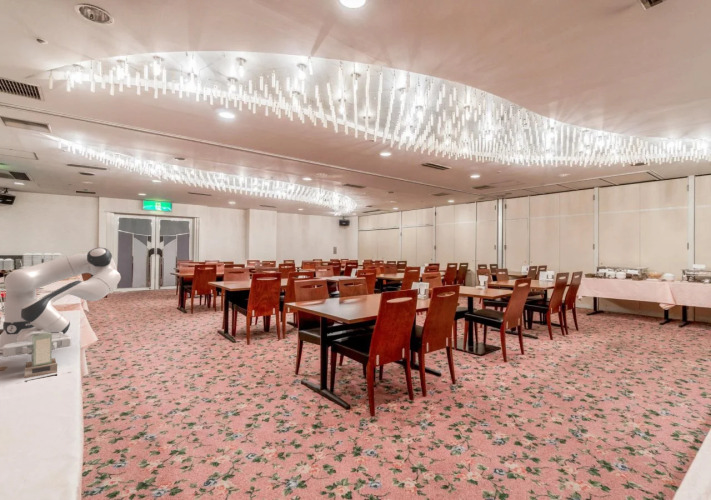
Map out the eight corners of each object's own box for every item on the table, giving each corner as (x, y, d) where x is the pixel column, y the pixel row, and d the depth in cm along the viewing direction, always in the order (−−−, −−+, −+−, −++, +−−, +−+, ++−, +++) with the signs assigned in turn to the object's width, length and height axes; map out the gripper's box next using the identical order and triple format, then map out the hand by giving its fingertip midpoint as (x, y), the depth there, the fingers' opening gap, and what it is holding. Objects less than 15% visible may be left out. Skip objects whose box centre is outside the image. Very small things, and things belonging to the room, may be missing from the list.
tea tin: (31, 368, 131) (31, 334, 131) (48, 364, 135) (49, 332, 135) (33, 371, 128) (34, 336, 128) (51, 367, 132) (51, 334, 132)
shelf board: (26, 365, 142) (26, 355, 142) (55, 360, 148) (55, 351, 148) (24, 381, 124) (24, 369, 124) (57, 375, 131) (57, 364, 131)
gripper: (-1, 340, 132) (3, 346, 123) (66, 331, 148) (75, 336, 139) (-2, 356, 132) (3, 364, 123) (66, 345, 148) (74, 351, 139)
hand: (41, 349), depth 131 cm, fingers closed on tea tin, 5 cm apart
